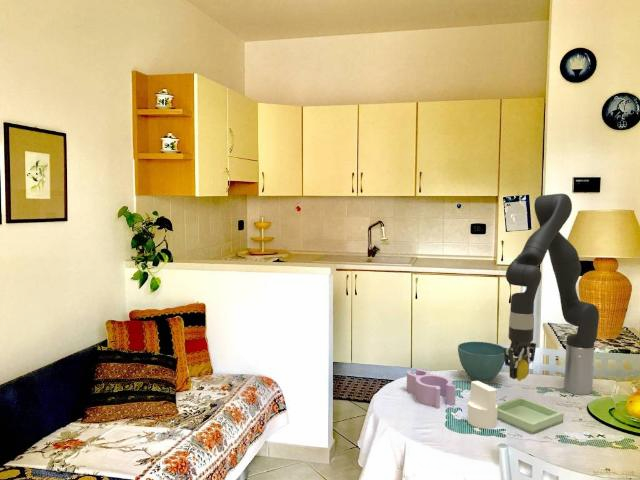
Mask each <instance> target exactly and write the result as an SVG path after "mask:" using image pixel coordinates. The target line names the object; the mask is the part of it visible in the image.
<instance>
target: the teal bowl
mask: <svg viewBox="0 0 640 480" xmlns="http://www.w3.org/2000/svg"><path fill="white" fill-rule="evenodd" d="M504 348H505V347H504V346H502V345H501V344H497V343H492V342H487V341H486V342H485V341H467V342H466V341H465V342H462V343H459V344H458V345H457V352H458V353H457V354H458V357H459V362H460V364H461V366H462V369H463V370H464V372H465V373H466V374H467V376H468V378H469V379H471V380H473V381H480V382H482V383H489V382H492V381H493V380H494V379H495V378H496V377H497V376H498V375H499V373H500V372H501V370H503V369H502V368H503V366H504V365H505V357H504Z"/></svg>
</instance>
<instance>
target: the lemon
mask: <svg viewBox="0 0 640 480" xmlns="http://www.w3.org/2000/svg"><path fill="white" fill-rule="evenodd" d="M513 361H514V363H515V360H513ZM529 372H530V366H529V367H528V363H527V361H526V360H525V359H523V358H521V360H520V361H519V362H518V365H517V378H516V379H515V380H517V381H518V382H521V381H522V380H524V379H526V378H527V377H528V376H529Z"/></svg>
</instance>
